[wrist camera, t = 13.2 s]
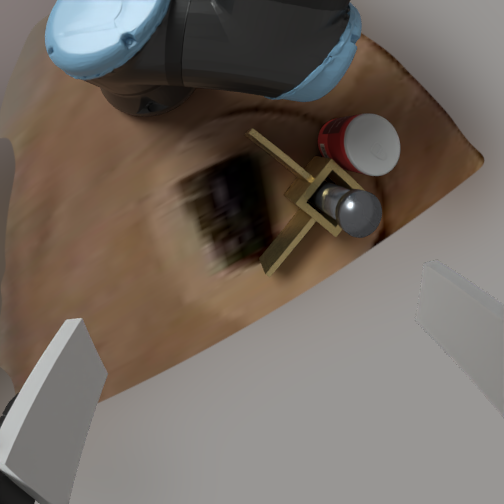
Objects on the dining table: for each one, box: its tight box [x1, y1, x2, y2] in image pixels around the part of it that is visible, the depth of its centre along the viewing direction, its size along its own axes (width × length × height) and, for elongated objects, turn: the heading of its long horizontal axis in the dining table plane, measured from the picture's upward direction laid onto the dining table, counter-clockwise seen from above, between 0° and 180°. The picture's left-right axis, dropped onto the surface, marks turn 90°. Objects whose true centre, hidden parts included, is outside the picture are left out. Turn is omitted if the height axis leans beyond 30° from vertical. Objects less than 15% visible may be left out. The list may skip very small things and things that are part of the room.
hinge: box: [245, 128, 365, 277], centre depth 41 cm, size 18×18×7 cm
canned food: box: [318, 114, 400, 176], centre depth 37 cm, size 8×8×11 cm
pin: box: [308, 181, 382, 238], centre depth 37 cm, size 5×5×16 cm
